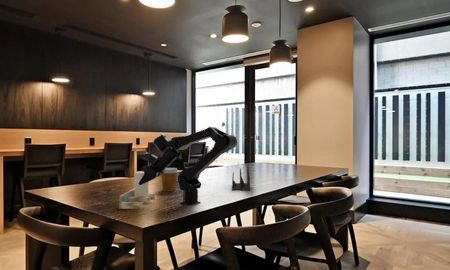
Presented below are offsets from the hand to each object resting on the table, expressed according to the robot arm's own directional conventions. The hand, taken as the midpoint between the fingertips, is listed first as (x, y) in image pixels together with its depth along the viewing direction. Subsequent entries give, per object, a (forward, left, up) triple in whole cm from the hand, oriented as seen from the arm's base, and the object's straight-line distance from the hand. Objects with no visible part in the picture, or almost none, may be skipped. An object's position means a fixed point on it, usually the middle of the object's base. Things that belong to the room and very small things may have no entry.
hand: (142, 182), depth 135 cm
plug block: (0, 0, -8) cm, 8 cm away
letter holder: (-7, -60, -8) cm, 61 cm away
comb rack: (-4, +4, -8) cm, 10 cm away
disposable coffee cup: (+14, -24, -8) cm, 29 cm away
